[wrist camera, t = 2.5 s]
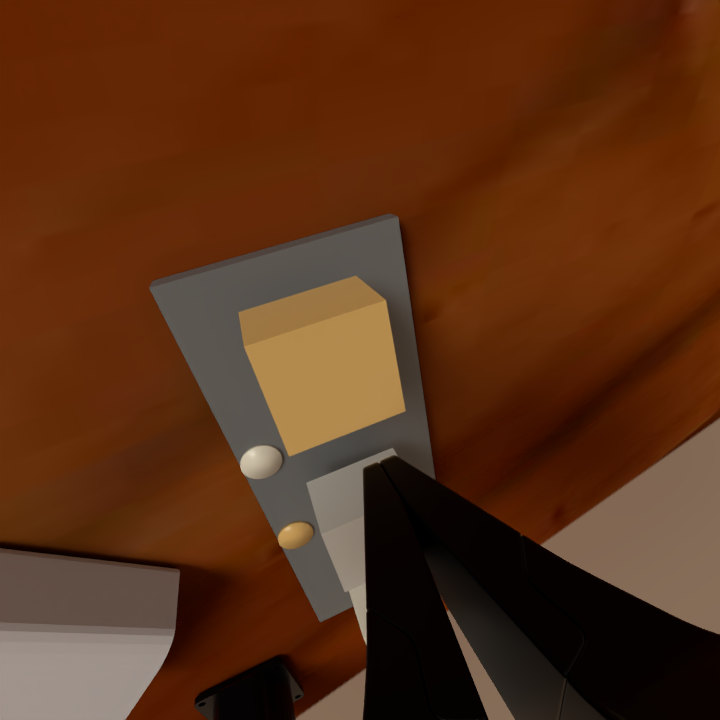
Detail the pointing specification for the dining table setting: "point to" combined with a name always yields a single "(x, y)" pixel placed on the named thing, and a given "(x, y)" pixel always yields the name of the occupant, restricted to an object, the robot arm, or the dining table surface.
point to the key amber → (324, 362)
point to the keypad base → (245, 397)
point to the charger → (80, 634)
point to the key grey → (344, 518)
